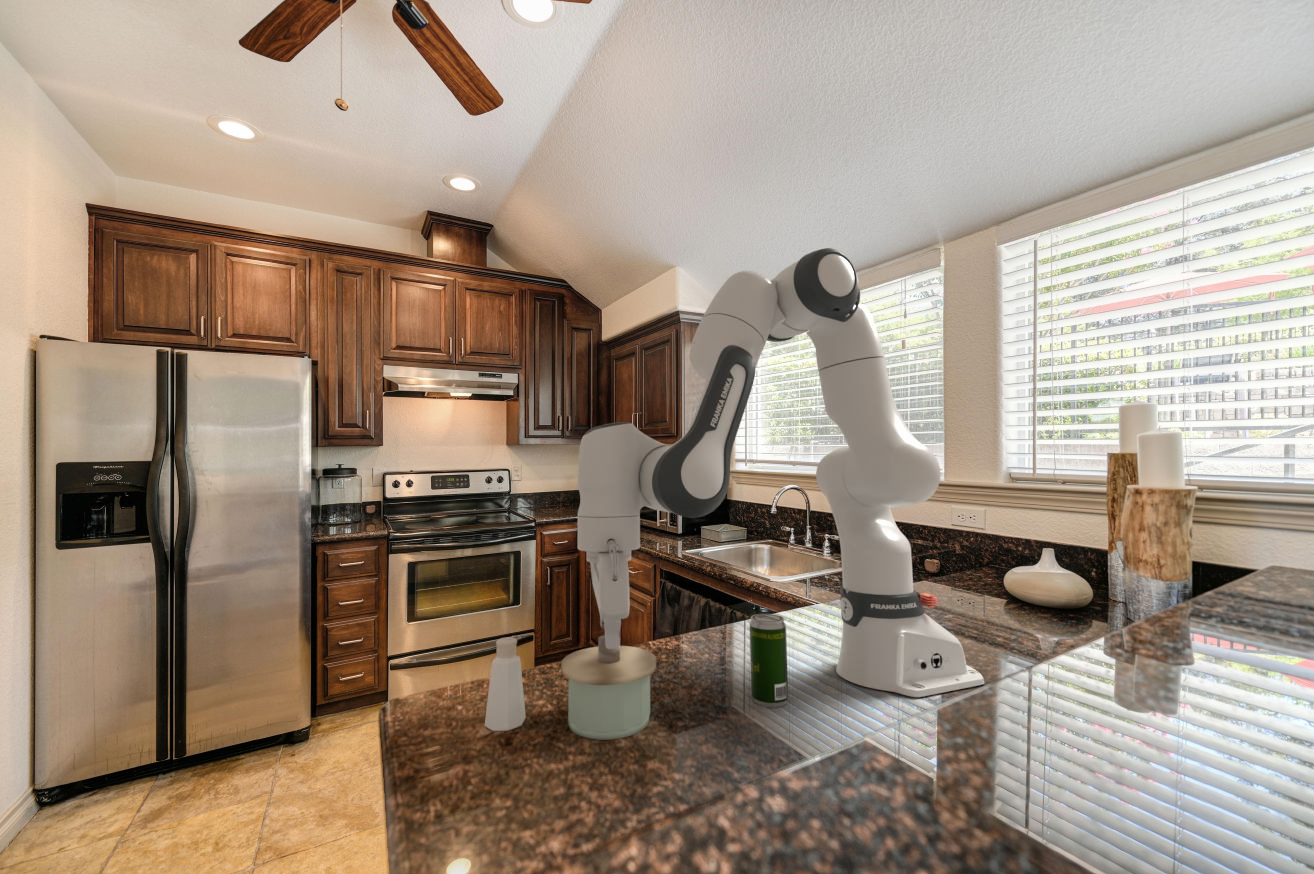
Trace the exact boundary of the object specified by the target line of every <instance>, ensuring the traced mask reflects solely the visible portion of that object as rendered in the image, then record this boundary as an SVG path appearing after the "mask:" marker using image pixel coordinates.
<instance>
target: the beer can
mask: <svg viewBox="0 0 1314 874" xmlns="http://www.w3.org/2000/svg"><path fill="white" fill-rule="evenodd" d="M787 644H788V643H787V625H786V623H785V617H784V616H781V615H778V614H773V613H772V614H771V613H757V614H753V615H751V616H750V622H749V650H750V651H749V655H750V656H749V657H750V689H751V690H750V691H751V697H752V700H753V702H754V704H756V705H758V706H761V707H765V708H781V707H784V706H785V705H786V704H787V702H788V699H789V686H788V685H789V683H788V682H789V679H788V675H789V674H788V650H787Z"/></svg>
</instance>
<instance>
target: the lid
mask: <svg viewBox="0 0 1314 874" xmlns="http://www.w3.org/2000/svg"><path fill="white" fill-rule="evenodd" d="M597 641H598V644H597V646H593V647H588V648H586V647H585V648H583V649H580V650H576V651H573V652H571V653H570V654H567V655H566V656H565V657H564V658H563V659H562V660H561V674H562V676H564V677H565V678H566V679H568V680H569V679H570V680H572V681H575V682H578V683H583V684H590V685H616V684H624V683H630V682H634V681H638V680H640V679H643V678H645V677H647V676H649V675H650V676H651V675H652V674H653V673H654V672H655V671H656V669H657V657H656V656H655V654H654V653H652V652H651V651H650V650H646V649H644V648H641V647H636V646H629V645H621V636H620V635H619V647H618V648H616V649H607V648H606V646H605V634H603V635H600V636H598V639H597Z"/></svg>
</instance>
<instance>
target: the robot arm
mask: <svg viewBox="0 0 1314 874" xmlns="http://www.w3.org/2000/svg"><path fill="white" fill-rule="evenodd" d="M859 281H860V280H859V277H858V275H857V271H856V268H855V267H854V264H853V263H852V261H851V260H850V259H849V258H848V257H847V256H846V255H845V254H844V253H843V252H841V251H839V250H838V249H835V248H832V247H827V248H820V249H816V250H814V251H812V252H809V253H807V254H805V255H803V256H802V257H801V258H800V259H799V260H797V261H796V262H794V263H792V264H791V265H788V266H787V267H785V268H784V269H783V270H781V271H780V272H779V273H778V274H777V275H776V276H775V277H774V278H772V279H769V278H768V277H767V276H765V275H763V274H762V273H761V272H760V273H759V272H757V271H754V270H753V271H752V270H741V271H738V272H735V273H734V274H732V275H730V276H729V277H728V278H727V279H726V281H725V282H724V283H723V284H722V285H721V286H720V289H718V291H717V292H716V294H715V295H714V297H713V298H712V300H711V302H710V304H708V307H707V308H706V310H705V312H704V314H703V316H702V318H701V320H700V322H699V323H698V326H697V328H696V331H695V334H694V335H693V339H692V342H691V345H690V350H689V355H688V356H689V359H690V363H691V365H692V368H693V370H694V371H695V372H696V373H697V375H698V376H699V377H700V378H701V379H703V380H705V384H704V388H703V392H702V394H701V397H700V399H699V401H698V405H697V406H696V409H695V412H694V414H693V417H692V420H691V422H690V425H689V427H688V430H687V431H686V432H685V434H683V436H682V437H681V438H680V439H679V440H677V441H676V442H674V443H673V444H672V445H667V444H665V443H662V442H660V441H657V440H656V439H654V438H652V437H650V436H648V435H647V434H645V433H644V432H642V431H641V430H640V429H638V428H637V427H636V426H635V425H634V423H631V422H628V421H618V422H612V423H610V422H609V423H605V424H604V423H603V424H602V425H597V426H594V427H592V428H590V429H589V430H587V431H586V432H585V433H584V435H583V436H582V438H581V441H580V446H579V451H578V461H577V464H578V465H577V487H578V492H579V497H580V501H579V502H580V503H579V507H578V510H577V550H579V551H581V552H586V561H587V562H588V563H589V565H590V574H591V575H590V576H591V582H592V587H593V591H594V595H595V599H596V604H597V608H598V613H599V616H600V617H599V618H600V628H601V629H602V630H604V635H605V646H606V648H607V649H616V648H618V647H619V636H620V631H621V626H622V619H627V618H628V617H629V615H630V609H631V607H630V604H631V603H630V573H629V564H628V562H630V561H631V560H632V551H636V550H638V549H640V548H641V517H640V515H641V510H642V508H643V507H647V508H649V509H651V510H654V511H660V512H664V513H671V514H675V515H677V516H680V517H683V518H689V519H697V518H702V517H705V516H706V515H709V514H711V513H712V512H714V511H715V510H717V508H718V507H720V505H721V504H722V502H723V501H724V500H725V497H726V495H727V493H728V490H729V485H730V479H731V478H730V477H731V459H732V452H733V447H734V444H735V441H736V437H737V434H738V432H739V431H738V430H739V428H740V425H741V423H742V419H743V416H744V413H745V411H746V407H747V404H748V402H749V398H750V396H751V392H752V389H753V385H754V381H755V378H756V377H755V376H756V368H757V364H758V362H759V359H760V358H761V355H762V352H763V350H764V347H765V345H766V343H767V341H768V342H772V343H773V342H774V343H778V342H781V343H782V342H786V341H789V340H792V339H793V338H795V337H796V336H799V335H802V334H804V333H806V335H807V336H808V337H809V339H810V340H811V342H812V345H814V348H815V355H816V356H815V358H816V364H817V371H818V376H819V381H820V382H819V383H820V386H821V392H822V398H823V404H824V409H825V412H826V415H827V416H828V418H829V419H830V420H831V421H832V422H834V423H835V424H836V425H837V426H838V428H839V430H840V431H841V433H842V434H843V436H844V439H845V441H846V443H847V445H845V446H841V447H839V448H836V449H835V450H833V451H831V452H829V453H827V454H826V455H825V456H823V458H822V459H820V461H819V463H817V464H818V465H817V467H816V472H815V473H816V474H815V479H816V484H817V485H818V489H819V490H820V491H821V493H822V494H823V495H824V496H825V498H826V500H827V502H828V504H829V507H830V510H831V512H832V513H831V514H832V516H833V519H834V523H835V525H836V530H837V534H838V538H839V545H840V557H841V559H840V560H841V575H842V585H841V586H840V592H839V593H840V614H841V620H842V633H841V644H840V652H839V657H838V661H837V665H836V668H835V671H836V673H837V675H838V676H840V677H841V678H842V679H844V680H846V681H849V682H850V683H852V684H856V685H859V686H862V687H865V688H869V689H874V690H880V691H886V692H891V693H892V692H893V693H897V694H900V695H903V696H907V697H913V698H921V697H927V696H931V695H937V694H943V693H947V692H952V691H957V690H961V689H967V688H973V687H977V686H981V685H984V684H985V679H984V677H983V675H982V674H981V672H979V671H978V670H976V669H975V668H973V667H971V666H970V665H968V664H967V660H966V656H965V651H964V649H963V646H962V644H961V642H960V640H959V639H958V638H957V637H956V636H955V635H954V634H952V633H951V632H950V631H949V630H947V629H946V628H944V627H943V626H942V625H941V624H939V623H938V622H936V621H935V620H934V619H932V618H931V617H930V616H929V615H928V614H926V613H925V612H926V611H925V609H924V606H927V607H928V608H933V609H934V608H935V607H937V605H938V598H937V597H936V596H935V595H933V594H930V593H928V592H927V593H925V592H924V593H922V594H921V593H920V592H918V591H917V590H915V589H914V579H913V558H912V546H911V543H910V541H909V539H908V538H907V537H906V535H904V533H903V532H902V531H901V530H900V529H899V527H898V525H897V524H896V521H895V518H894V516H893V515H894V514H892V513H893V512H892V510H891V508H894V509H896V508H897V509H898V508H906V507H910V506H914V505H916V504H920V503H923V502H925V501H928V500H929V499H930V498H932V496H934V494H935V493H936V491H937V490H938V488H939V485H940V483H941V482H940V481H941V466H940V463H939V461H938V458H937V457H936V455H935V453H934V452H933V451H932V450H931V449H930V448H929V447H928V446H926V445H924V444H923V443H922V442H921V441H919V440H918V439H917V438H916V437H915V436H914V435H913V433H912V432H911V431H910V429H909V428H908V426H907V425H906V423H905V421H904V419H903V417H902V415H901V414H900V411H899V410H898V409H899V408H898V407H897V404H896V402H895V399H894V395H893V391H892V387H891V381H890V378H889V373H888V367H887V364H886V358H885V354H884V349H883V344H882V342H881V337H880V335H879V332H878V329H877V327H876V323H875V321H874V318H873V316H872V314H871V312H870V310H869V308H868V307H867V306H866V305H864V304H863V303H860V300H861V290H860V282H859Z"/></svg>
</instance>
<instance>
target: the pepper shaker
mask: <svg viewBox="0 0 1314 874" xmlns="http://www.w3.org/2000/svg"><path fill="white" fill-rule="evenodd" d="M517 644H518V639H517V638H515V637H512V636H511V637H509V636H508V637H501V638H499V639H497V640H496V642H495V645H496V649H495V650H496V656H495V658H494V659H492V662H491V669H490V675H489V684H488V685H489V686H488V693H487V694H488V695H487V701H486V710H485V717H484V718H485V719H484V726H485V727H486V728H488V729H489V730H491V731H492V732H505V731H507V732H508V731H511V730H514V729H516V728H519V727H522V725H523V723H524V722H525V720H526V709H525V708H526V706H525V697H524V685H523V684H524V683H523V672H522V663H521V657H520V656H519V655H517Z"/></svg>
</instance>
